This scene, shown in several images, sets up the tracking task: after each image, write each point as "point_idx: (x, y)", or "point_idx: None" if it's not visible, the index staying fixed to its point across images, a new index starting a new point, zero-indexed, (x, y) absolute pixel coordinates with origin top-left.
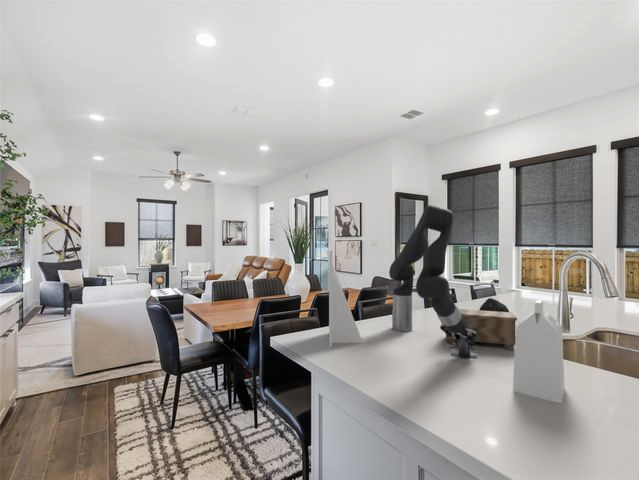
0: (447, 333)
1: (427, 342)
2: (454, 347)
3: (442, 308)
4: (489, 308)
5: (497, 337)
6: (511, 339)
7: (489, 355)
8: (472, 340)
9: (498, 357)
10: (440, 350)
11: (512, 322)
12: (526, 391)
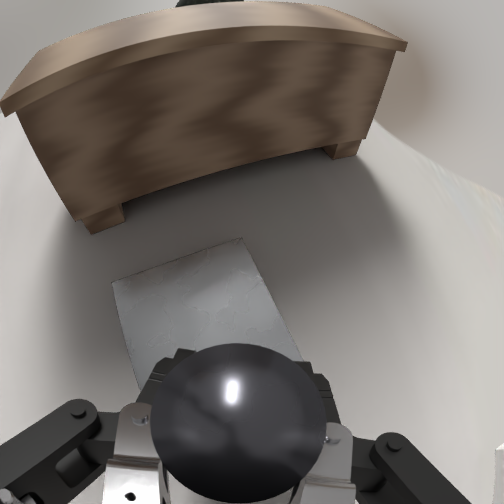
0: (75, 488)
1: (15, 287)
2: (140, 322)
3: None
4: (203, 3)
5: (317, 126)
6: (361, 122)
7: (334, 283)
8: (370, 499)
9: (374, 282)
10: (84, 386)
11: (385, 57)
12: None
